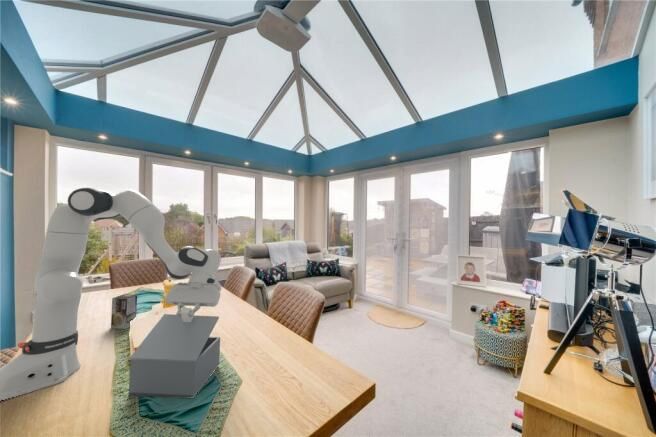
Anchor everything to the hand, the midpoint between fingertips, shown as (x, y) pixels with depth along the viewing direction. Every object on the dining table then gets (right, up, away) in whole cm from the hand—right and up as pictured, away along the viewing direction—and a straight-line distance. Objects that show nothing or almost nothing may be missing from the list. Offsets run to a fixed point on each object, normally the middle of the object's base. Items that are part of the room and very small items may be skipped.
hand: (184, 315), depth 91 cm
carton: (-1, -23, -2) cm, 23 cm away
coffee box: (-57, -22, +39) cm, 73 cm away
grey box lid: (0, -7, -3) cm, 7 cm away
